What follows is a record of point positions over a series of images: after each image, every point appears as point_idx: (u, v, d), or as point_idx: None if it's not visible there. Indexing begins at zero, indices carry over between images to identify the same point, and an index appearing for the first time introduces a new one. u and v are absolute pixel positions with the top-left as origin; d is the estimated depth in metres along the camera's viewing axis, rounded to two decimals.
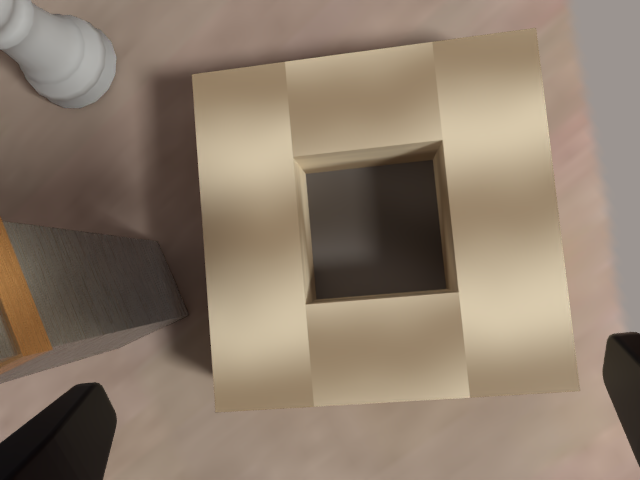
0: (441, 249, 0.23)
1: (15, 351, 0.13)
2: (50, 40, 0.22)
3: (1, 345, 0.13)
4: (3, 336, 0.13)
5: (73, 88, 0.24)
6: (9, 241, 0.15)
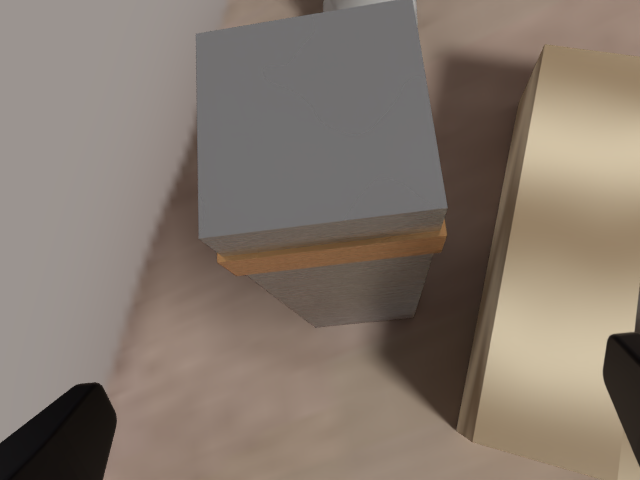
0: None
1: (439, 224, 0.09)
2: None
3: None
4: None
5: None
6: None
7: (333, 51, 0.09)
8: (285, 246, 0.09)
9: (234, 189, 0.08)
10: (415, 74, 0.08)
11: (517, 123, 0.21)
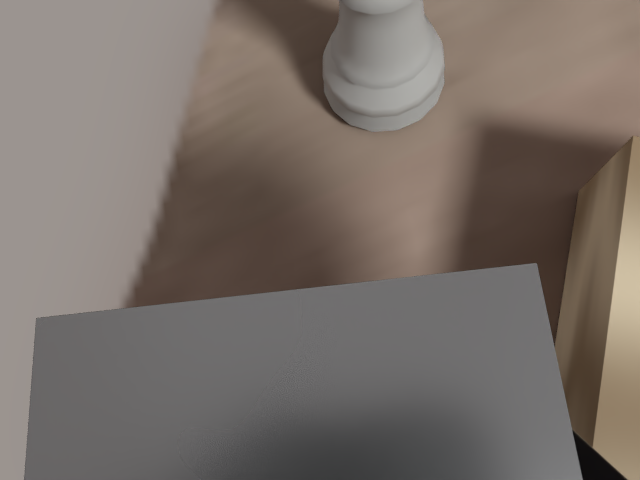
0: None
1: None
2: (414, 26, 0.15)
3: None
4: None
5: (390, 103, 0.17)
6: None
7: (348, 401, 0.04)
8: None
9: None
10: None
11: (581, 225, 0.16)
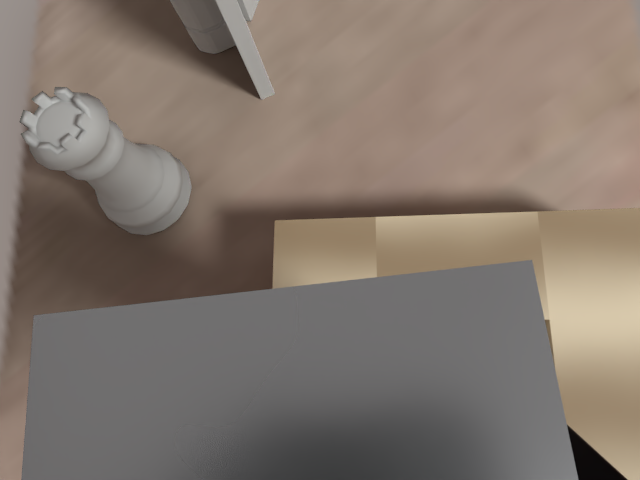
0: None
1: None
2: (133, 172, 0.21)
3: None
4: None
5: (145, 217, 0.23)
6: None
7: (344, 397, 0.04)
8: None
9: None
10: None
11: None
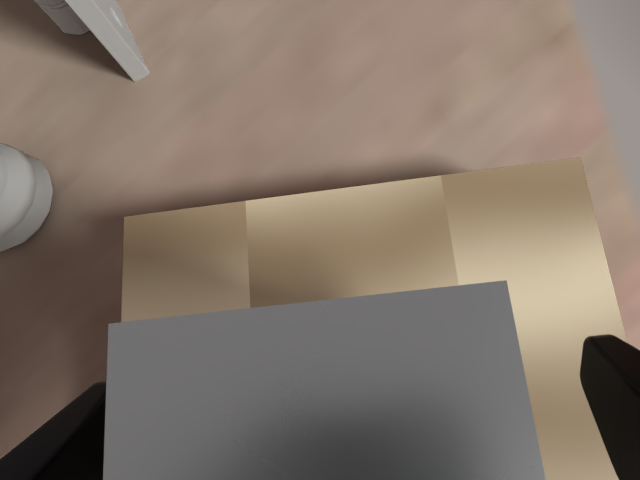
0: None
1: None
2: None
3: None
4: None
5: None
6: None
7: (359, 388, 0.05)
8: None
9: None
10: (522, 461, 0.04)
11: None
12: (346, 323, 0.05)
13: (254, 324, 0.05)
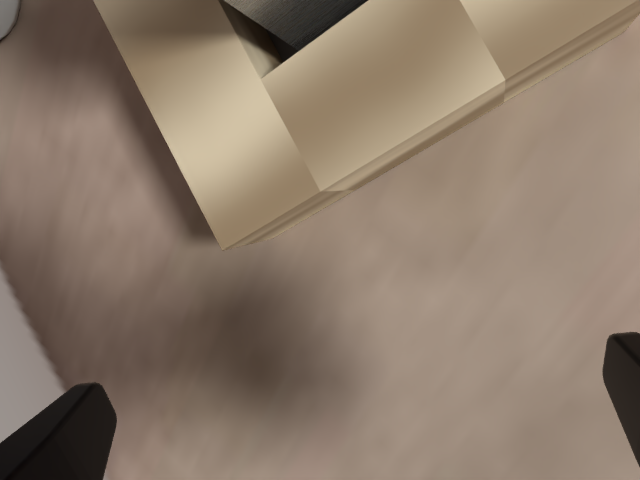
0: None
1: None
2: None
3: None
4: None
5: None
6: None
7: None
8: None
9: None
10: None
11: None
12: None
13: None
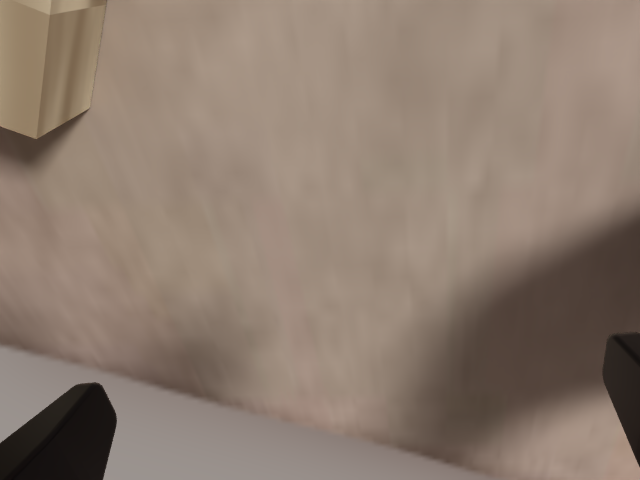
0: None
1: None
2: None
3: None
4: None
5: None
6: None
7: None
8: None
9: None
10: None
11: None
12: None
13: None
